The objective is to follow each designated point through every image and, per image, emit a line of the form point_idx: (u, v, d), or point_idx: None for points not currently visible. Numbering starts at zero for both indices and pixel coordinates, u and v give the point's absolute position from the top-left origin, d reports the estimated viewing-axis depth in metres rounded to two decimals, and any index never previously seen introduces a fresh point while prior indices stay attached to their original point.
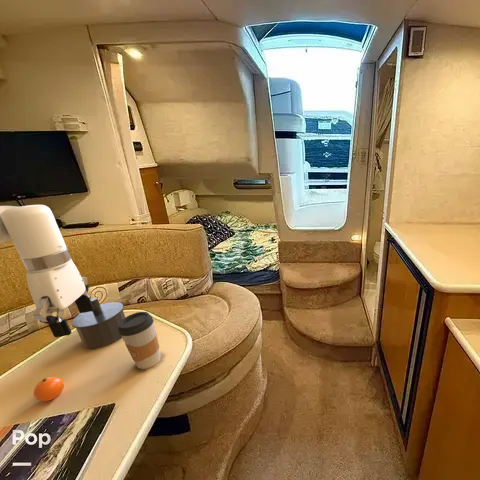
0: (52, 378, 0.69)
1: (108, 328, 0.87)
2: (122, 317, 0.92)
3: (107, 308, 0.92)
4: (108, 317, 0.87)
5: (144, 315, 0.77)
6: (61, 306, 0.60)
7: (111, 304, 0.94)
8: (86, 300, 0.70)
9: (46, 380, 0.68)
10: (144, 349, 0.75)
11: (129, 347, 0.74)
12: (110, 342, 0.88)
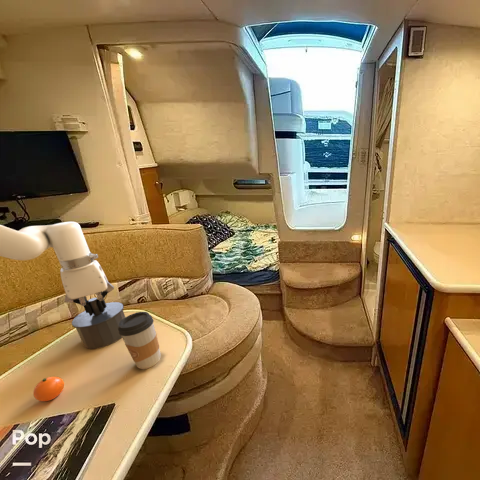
0: (52, 378, 0.69)
1: (108, 328, 0.87)
2: (122, 317, 0.92)
3: (107, 308, 0.92)
4: (108, 317, 0.87)
5: (144, 315, 0.77)
6: (68, 296, 0.82)
7: (111, 304, 0.94)
8: (98, 303, 0.88)
9: (46, 380, 0.68)
10: (144, 349, 0.75)
11: (129, 347, 0.74)
12: (110, 342, 0.88)
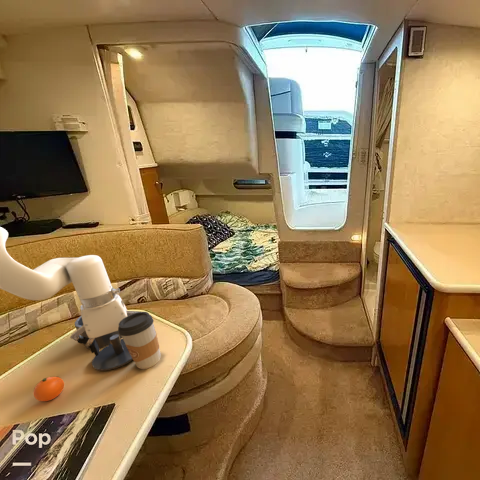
0: (52, 378, 0.69)
1: None
2: None
3: None
4: None
5: (144, 315, 0.77)
6: (89, 336, 0.76)
7: None
8: None
9: (46, 380, 0.68)
10: (144, 349, 0.75)
11: (129, 347, 0.74)
12: (110, 342, 0.88)
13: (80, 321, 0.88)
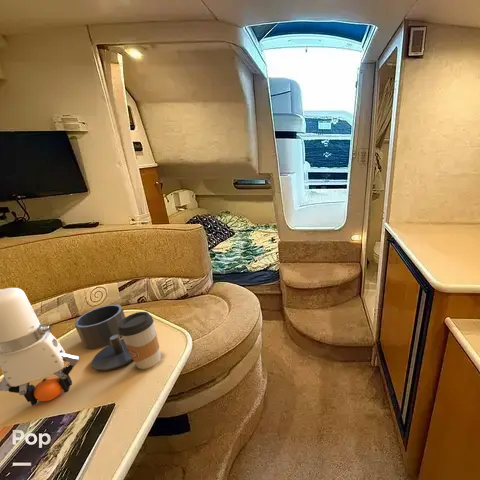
0: (52, 378, 0.69)
1: (108, 328, 0.87)
2: (122, 317, 0.92)
3: None
4: None
5: (144, 315, 0.77)
6: (10, 384, 0.63)
7: None
8: (60, 381, 0.69)
9: (46, 380, 0.68)
10: (144, 349, 0.75)
11: (129, 347, 0.74)
12: (110, 342, 0.88)
13: (80, 321, 0.88)
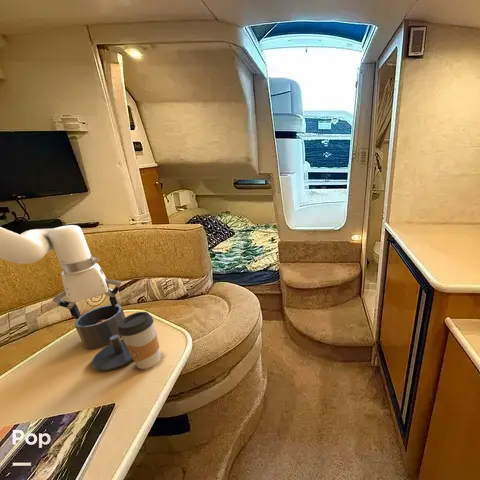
0: None
1: (108, 328, 0.87)
2: (122, 317, 0.92)
3: None
4: None
5: (144, 315, 0.77)
6: (69, 299, 0.83)
7: None
8: None
9: (102, 321, 0.91)
10: (144, 349, 0.75)
11: (129, 347, 0.74)
12: (110, 342, 0.88)
13: (80, 321, 0.88)
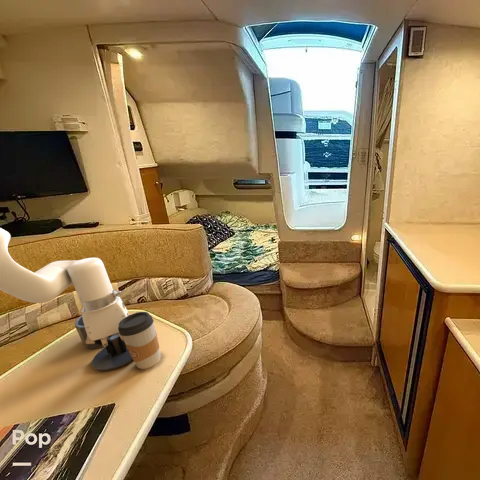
0: None
1: None
2: None
3: None
4: None
5: (144, 315, 0.77)
6: (90, 338, 0.76)
7: None
8: (120, 342, 0.81)
9: None
10: (144, 349, 0.75)
11: (129, 347, 0.74)
12: None
13: (80, 321, 0.88)
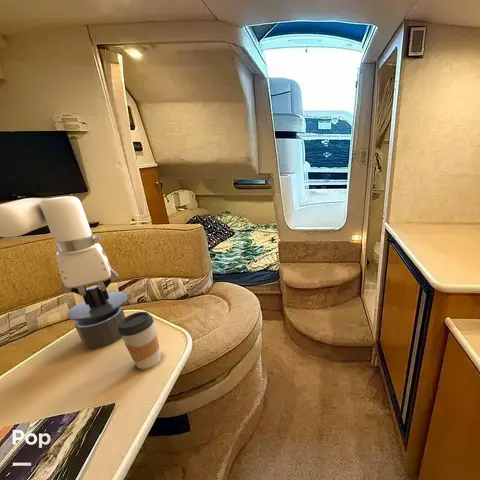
0: None
1: (108, 328, 0.87)
2: (122, 317, 0.92)
3: (109, 298, 0.80)
4: (111, 308, 0.74)
5: (144, 315, 0.77)
6: (65, 284, 0.70)
7: (114, 294, 0.82)
8: None
9: None
10: (144, 349, 0.75)
11: (129, 347, 0.74)
12: (110, 342, 0.88)
13: (80, 321, 0.88)
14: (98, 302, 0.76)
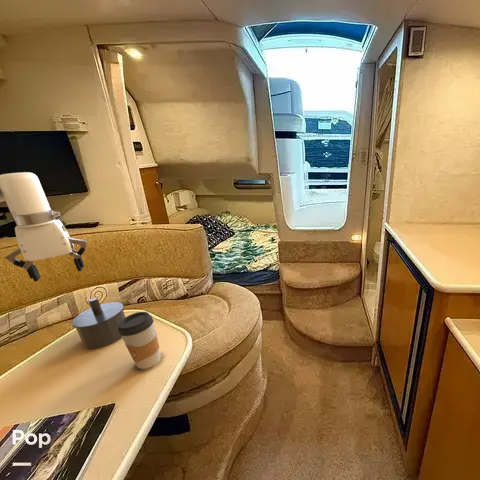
0: None
1: (108, 328, 0.87)
2: (122, 317, 0.92)
3: (107, 308, 0.92)
4: (108, 317, 0.87)
5: (144, 315, 0.77)
6: (25, 258, 0.73)
7: (111, 304, 0.95)
8: None
9: None
10: (144, 349, 0.75)
11: (129, 347, 0.74)
12: (110, 342, 0.88)
13: None
14: (97, 312, 0.88)
